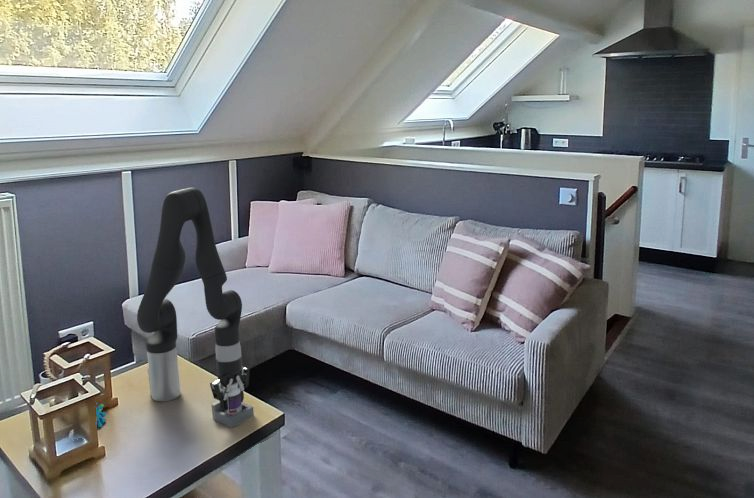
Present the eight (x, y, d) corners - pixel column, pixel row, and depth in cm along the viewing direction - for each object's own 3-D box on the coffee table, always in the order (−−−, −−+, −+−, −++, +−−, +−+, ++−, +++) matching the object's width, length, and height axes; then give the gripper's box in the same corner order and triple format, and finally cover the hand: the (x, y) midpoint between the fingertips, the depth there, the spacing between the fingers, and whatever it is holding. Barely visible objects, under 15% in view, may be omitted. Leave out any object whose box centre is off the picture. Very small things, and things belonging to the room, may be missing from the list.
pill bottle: (245, 408, 194) (243, 380, 191) (236, 416, 189) (234, 388, 186) (230, 405, 196) (228, 377, 193) (220, 414, 191) (218, 385, 188)
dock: (212, 418, 192) (211, 404, 191) (234, 406, 199) (233, 392, 198) (231, 427, 187) (230, 413, 186) (253, 415, 194) (252, 401, 192)
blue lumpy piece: (91, 431, 183) (70, 405, 183) (79, 442, 184) (58, 417, 185) (115, 417, 193) (95, 392, 194) (104, 427, 195) (84, 403, 196)
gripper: (238, 344, 195) (242, 393, 200) (201, 360, 184) (206, 411, 188) (254, 350, 191) (258, 399, 195) (217, 367, 180) (222, 419, 184)
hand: (232, 405), depth 192 cm, fingers closed on pill bottle, 5 cm apart
